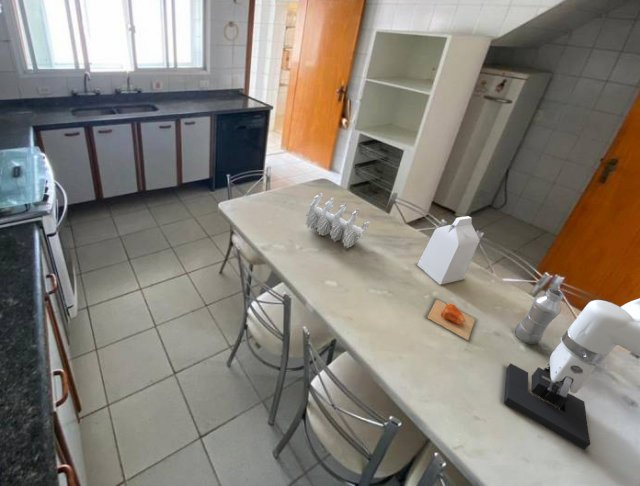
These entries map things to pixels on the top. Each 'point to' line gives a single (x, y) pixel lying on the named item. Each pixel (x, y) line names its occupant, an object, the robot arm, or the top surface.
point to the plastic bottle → (540, 316)
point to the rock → (451, 318)
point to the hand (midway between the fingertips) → (546, 390)
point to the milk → (450, 251)
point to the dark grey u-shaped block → (547, 409)
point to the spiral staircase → (334, 222)
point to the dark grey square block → (544, 384)
